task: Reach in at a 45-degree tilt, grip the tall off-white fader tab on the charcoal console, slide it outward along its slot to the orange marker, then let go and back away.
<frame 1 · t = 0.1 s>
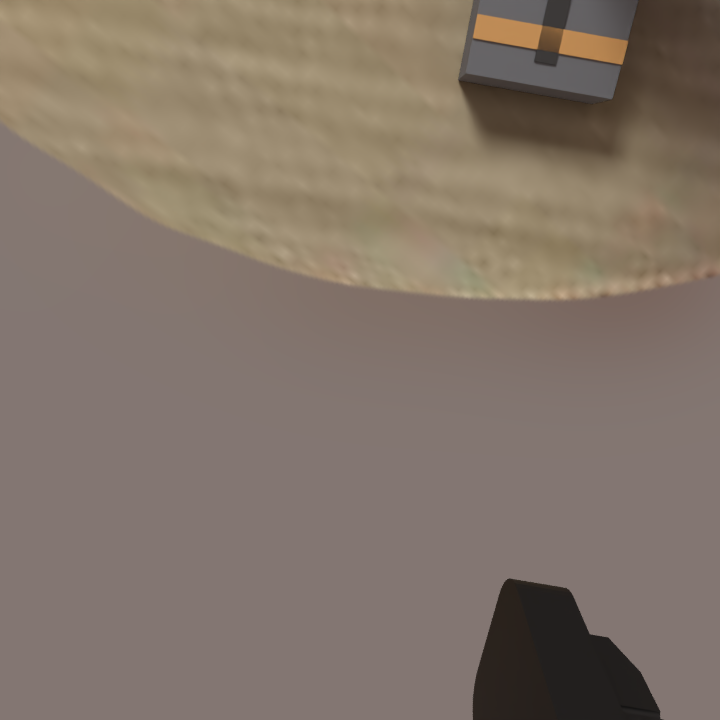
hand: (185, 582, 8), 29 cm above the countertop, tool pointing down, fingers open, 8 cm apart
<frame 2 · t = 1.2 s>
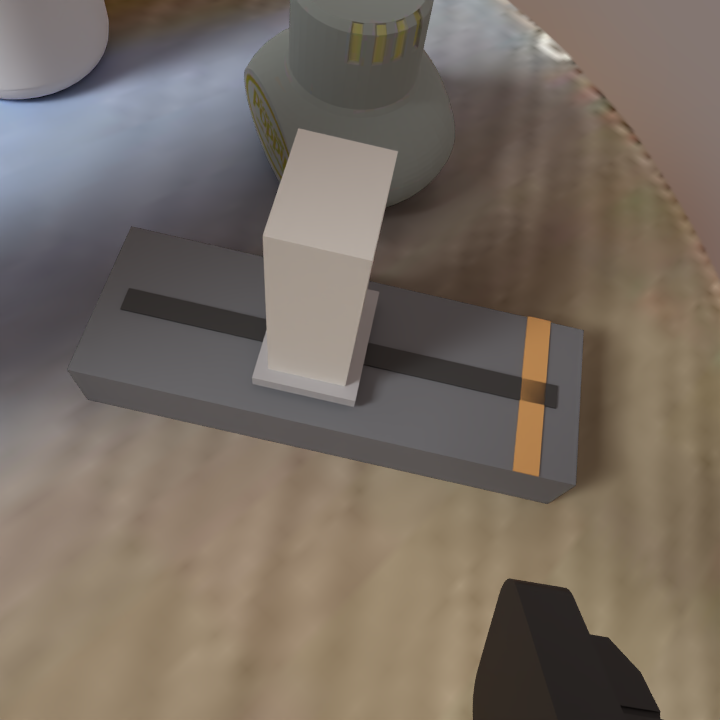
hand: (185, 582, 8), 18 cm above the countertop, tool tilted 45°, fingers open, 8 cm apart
wine bottle: (25, 48, 36), on the countertop
console: (335, 378, 29), on the countertop
air freshener: (342, 158, 35), on the countertop
fader tab: (324, 279, 22), point 8 cm above the countertop, slide at 0.0 cm
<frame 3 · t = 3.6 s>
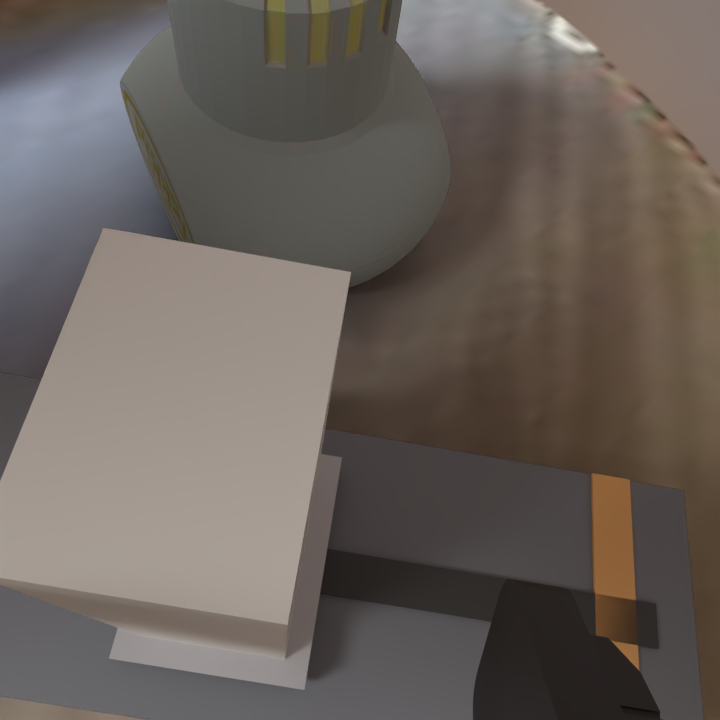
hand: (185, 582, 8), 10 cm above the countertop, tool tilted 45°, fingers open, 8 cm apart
console: (280, 582, 18), on the countertop
air freshener: (284, 208, 24), on the countertop
fader tab: (220, 505, 11), point 8 cm above the countertop, slide at 0.0 cm
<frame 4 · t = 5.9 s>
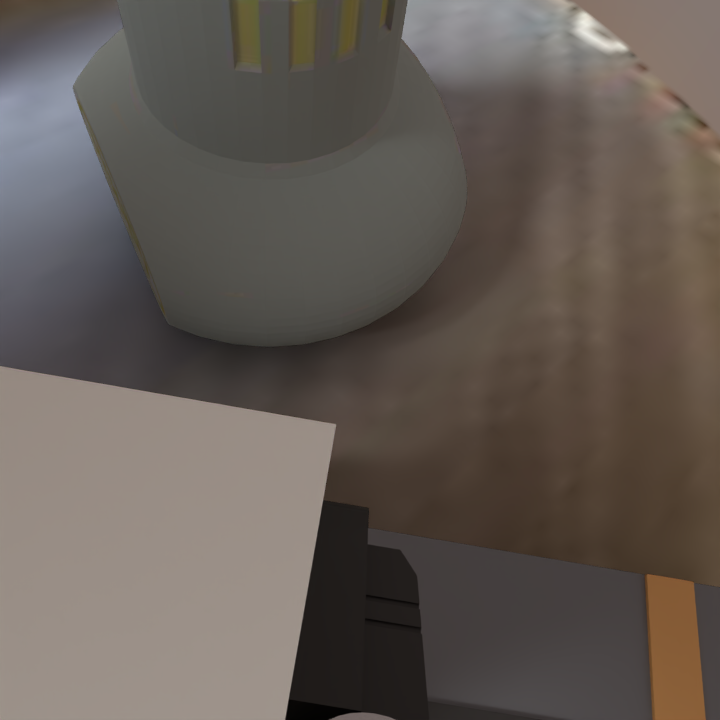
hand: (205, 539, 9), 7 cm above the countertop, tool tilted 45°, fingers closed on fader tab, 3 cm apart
console: (260, 701, 15), on the countertop
air freshener: (272, 233, 21), on the countertop
fader tab: (156, 698, 8), point 8 cm above the countertop, slide at 0.0 cm, touching gripper
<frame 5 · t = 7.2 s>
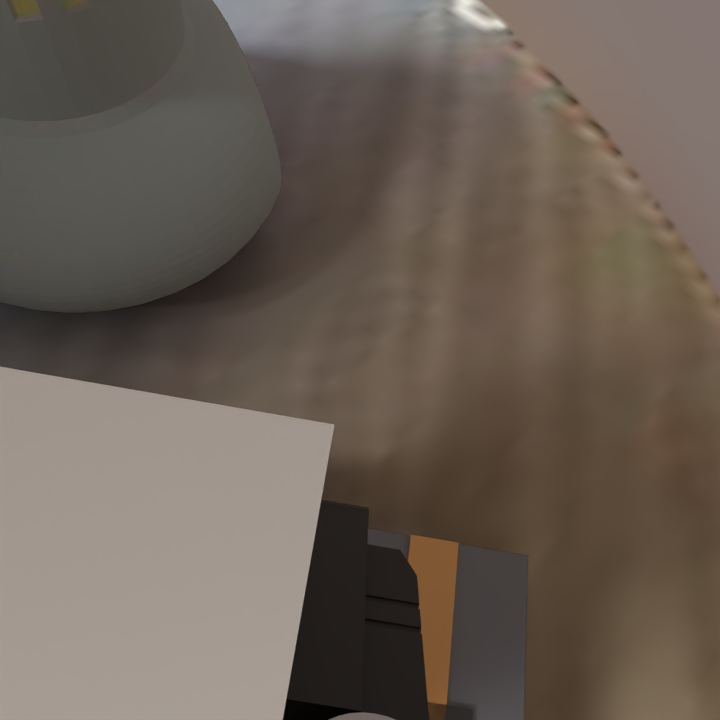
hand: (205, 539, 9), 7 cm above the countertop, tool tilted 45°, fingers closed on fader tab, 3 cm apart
console: (37, 665, 14), on the countertop
air freshener: (116, 205, 21), on the countertop
fader tab: (155, 699, 8), point 8 cm above the countertop, slide at 5.0 cm, touching gripper
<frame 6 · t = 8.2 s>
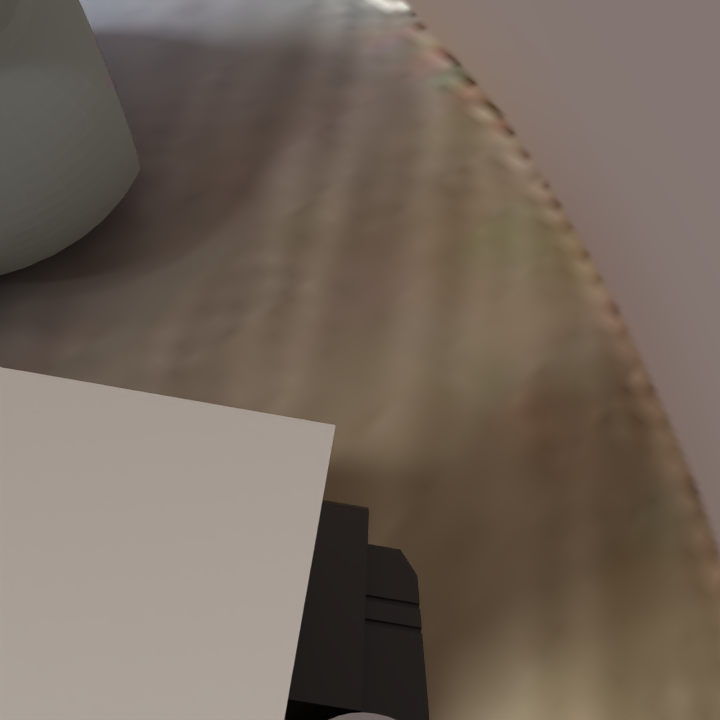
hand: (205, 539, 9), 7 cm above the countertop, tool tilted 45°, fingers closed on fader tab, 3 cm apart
fader tab: (156, 699, 8), point 8 cm above the countertop, slide at 9.0 cm, touching gripper
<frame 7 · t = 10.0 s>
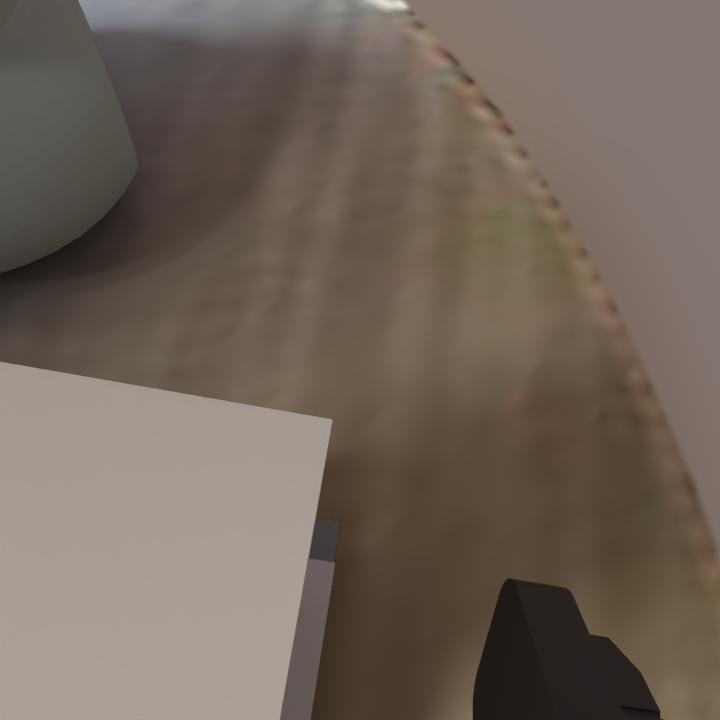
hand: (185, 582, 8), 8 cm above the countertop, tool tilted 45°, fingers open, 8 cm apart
fader tab: (155, 694, 8), point 8 cm above the countertop, slide at 9.0 cm
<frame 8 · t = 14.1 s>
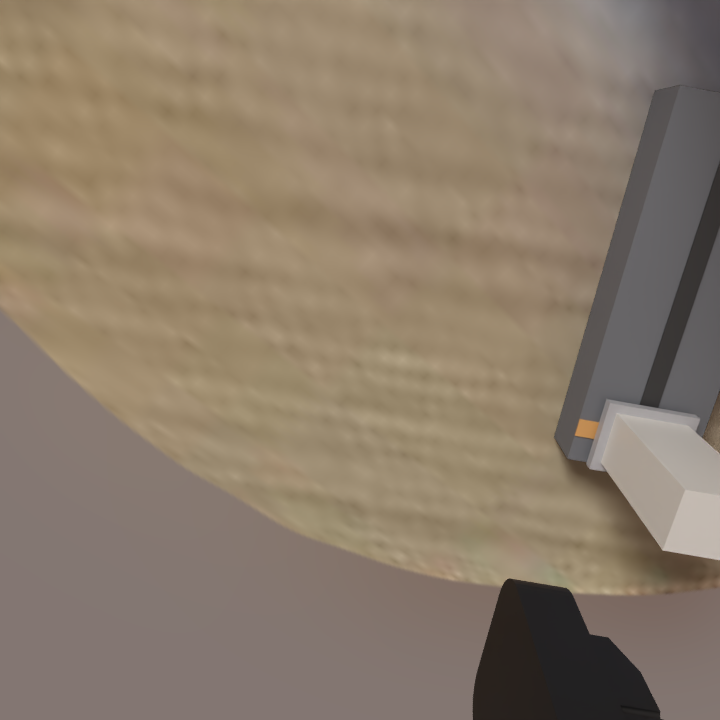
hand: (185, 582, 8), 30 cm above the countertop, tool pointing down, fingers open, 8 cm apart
console: (660, 288, 37), on the countertop
fader tab: (674, 478, 32), point 8 cm above the countertop, slide at 9.0 cm
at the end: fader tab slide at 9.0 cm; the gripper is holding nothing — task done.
